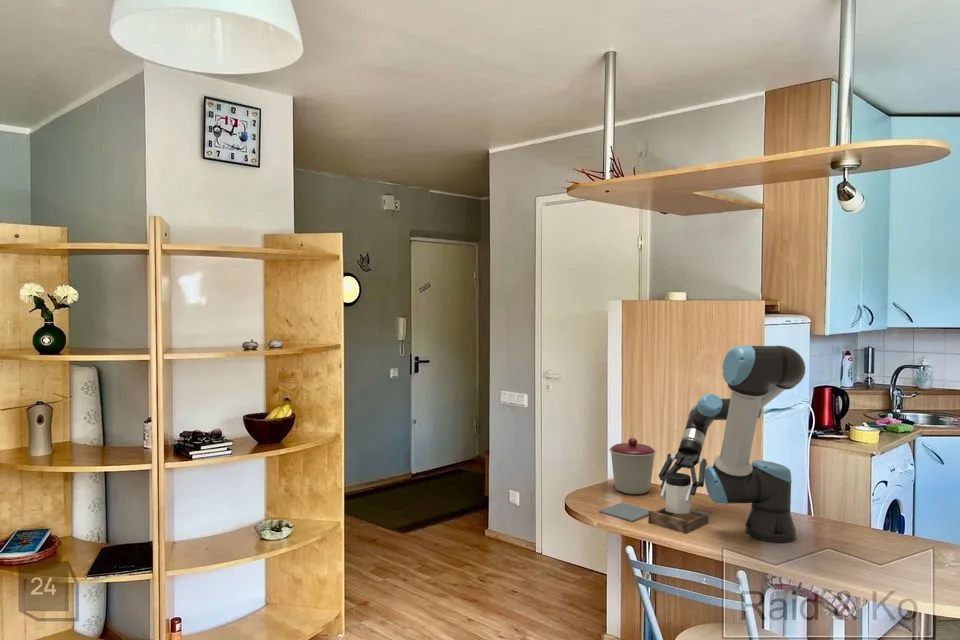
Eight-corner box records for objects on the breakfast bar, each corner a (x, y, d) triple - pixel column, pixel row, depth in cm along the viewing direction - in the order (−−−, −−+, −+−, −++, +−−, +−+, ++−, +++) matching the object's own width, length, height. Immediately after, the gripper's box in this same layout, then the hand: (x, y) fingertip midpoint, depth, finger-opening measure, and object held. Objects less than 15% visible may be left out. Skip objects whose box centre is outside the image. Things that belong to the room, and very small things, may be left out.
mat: (655, 513, 236) (655, 511, 236) (632, 522, 226) (632, 520, 226) (622, 504, 246) (622, 502, 246) (599, 512, 236) (599, 510, 236)
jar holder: (709, 522, 226) (709, 511, 226) (685, 533, 215) (686, 521, 215) (672, 512, 236) (672, 501, 236) (648, 522, 226) (648, 511, 225)
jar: (670, 514, 221) (670, 479, 221) (660, 507, 229) (660, 473, 229) (695, 513, 223) (696, 478, 222) (685, 506, 231) (685, 472, 230)
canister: (638, 500, 250) (639, 445, 249) (599, 490, 263) (600, 437, 263) (664, 491, 262) (665, 438, 261) (626, 482, 275) (627, 431, 275)
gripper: (723, 454, 232) (708, 511, 219) (666, 447, 244) (648, 500, 231) (718, 441, 227) (702, 499, 215) (660, 434, 240) (642, 488, 227)
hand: (674, 500), depth 223 cm, fingers closed on jar, 8 cm apart
